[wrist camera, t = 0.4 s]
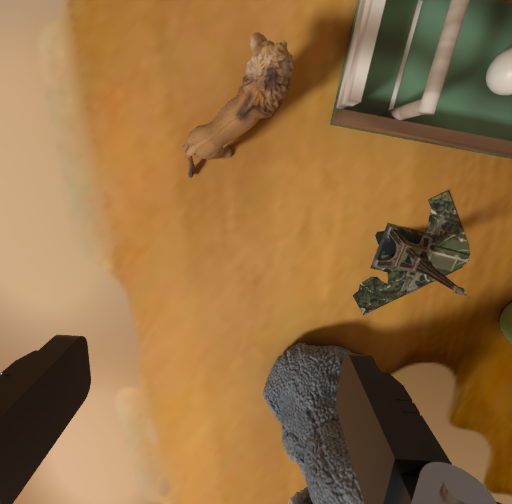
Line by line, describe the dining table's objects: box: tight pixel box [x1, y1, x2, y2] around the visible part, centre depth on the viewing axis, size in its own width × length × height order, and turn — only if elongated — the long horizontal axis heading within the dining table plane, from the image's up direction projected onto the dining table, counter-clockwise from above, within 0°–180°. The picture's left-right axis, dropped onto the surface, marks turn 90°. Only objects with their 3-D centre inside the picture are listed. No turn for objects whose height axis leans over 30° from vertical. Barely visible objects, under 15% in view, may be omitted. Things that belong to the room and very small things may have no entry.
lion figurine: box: [183, 32, 293, 178], centre depth 30 cm, size 15×5×9 cm, turn 139°
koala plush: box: [263, 342, 365, 504], centre depth 35 cm, size 17×18×20 cm
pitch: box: [330, 0, 512, 159], centre depth 28 cm, size 14×25×10 cm, turn 80°
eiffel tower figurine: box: [353, 191, 470, 315], centre depth 32 cm, size 15×10×13 cm
